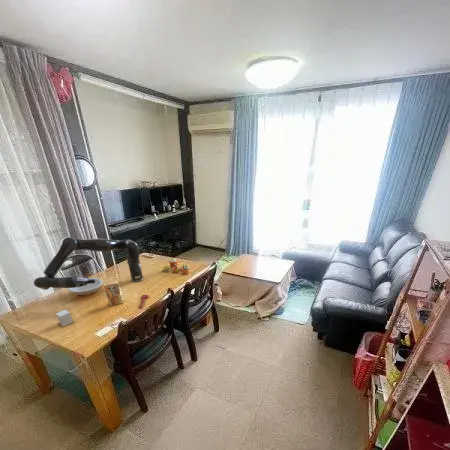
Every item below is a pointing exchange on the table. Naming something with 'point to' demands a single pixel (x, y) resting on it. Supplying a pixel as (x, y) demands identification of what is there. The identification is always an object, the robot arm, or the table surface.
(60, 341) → the table surface
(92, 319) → the table surface
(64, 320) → the grey cube
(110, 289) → the candy box
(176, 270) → the toy tea set
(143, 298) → the spoon
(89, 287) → the soup bowl
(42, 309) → the table surface
